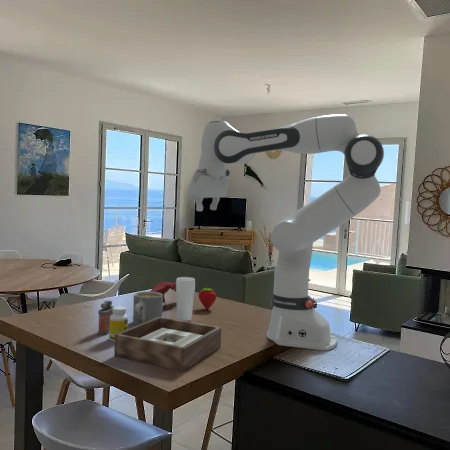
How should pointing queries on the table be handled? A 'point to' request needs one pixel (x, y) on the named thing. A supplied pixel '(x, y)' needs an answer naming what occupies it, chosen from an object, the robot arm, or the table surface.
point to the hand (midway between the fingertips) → (206, 210)
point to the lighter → (105, 318)
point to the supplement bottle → (118, 322)
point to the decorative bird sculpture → (164, 288)
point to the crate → (168, 343)
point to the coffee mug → (147, 306)
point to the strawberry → (207, 297)
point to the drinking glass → (185, 297)
